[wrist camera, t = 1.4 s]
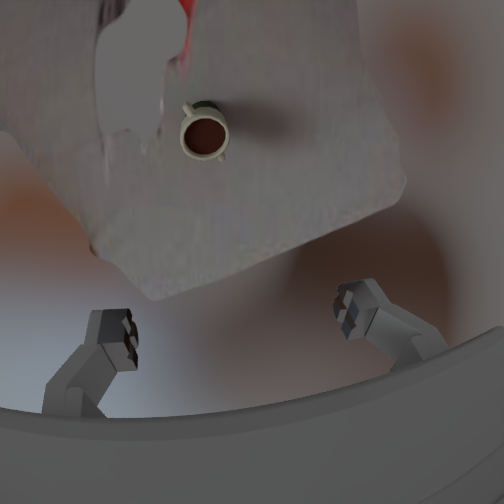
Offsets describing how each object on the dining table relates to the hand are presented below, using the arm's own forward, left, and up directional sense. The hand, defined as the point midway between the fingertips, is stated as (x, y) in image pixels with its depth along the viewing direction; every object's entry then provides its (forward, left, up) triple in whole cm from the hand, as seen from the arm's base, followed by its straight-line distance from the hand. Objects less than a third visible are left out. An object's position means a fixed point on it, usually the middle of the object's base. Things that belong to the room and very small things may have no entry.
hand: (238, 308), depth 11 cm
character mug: (+4, +2, -47) cm, 47 cm away
